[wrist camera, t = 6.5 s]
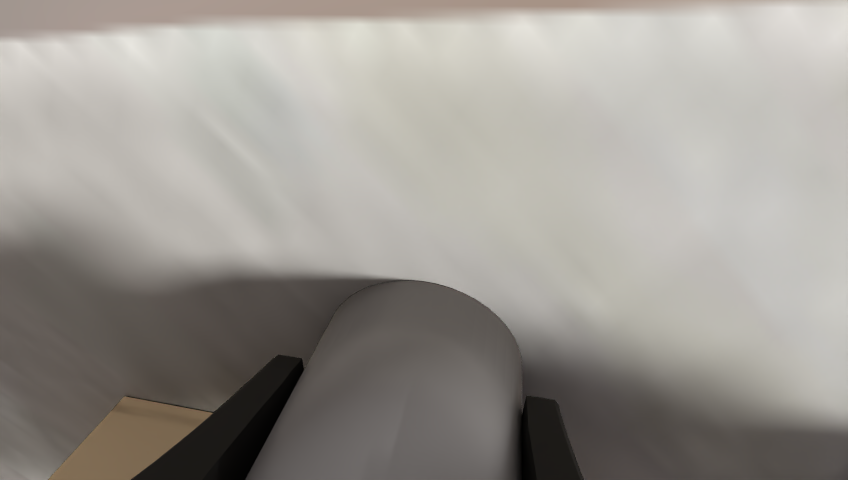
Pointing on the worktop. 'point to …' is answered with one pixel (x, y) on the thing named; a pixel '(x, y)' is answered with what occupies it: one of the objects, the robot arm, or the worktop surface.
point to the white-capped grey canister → (403, 393)
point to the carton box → (129, 440)
